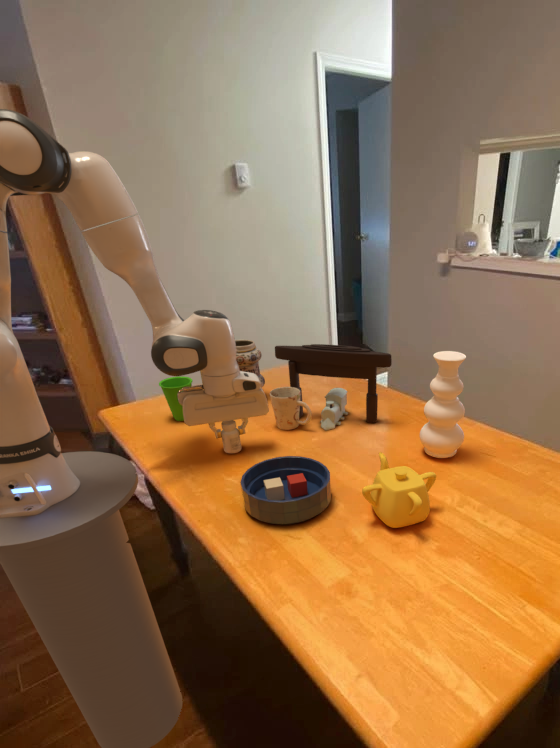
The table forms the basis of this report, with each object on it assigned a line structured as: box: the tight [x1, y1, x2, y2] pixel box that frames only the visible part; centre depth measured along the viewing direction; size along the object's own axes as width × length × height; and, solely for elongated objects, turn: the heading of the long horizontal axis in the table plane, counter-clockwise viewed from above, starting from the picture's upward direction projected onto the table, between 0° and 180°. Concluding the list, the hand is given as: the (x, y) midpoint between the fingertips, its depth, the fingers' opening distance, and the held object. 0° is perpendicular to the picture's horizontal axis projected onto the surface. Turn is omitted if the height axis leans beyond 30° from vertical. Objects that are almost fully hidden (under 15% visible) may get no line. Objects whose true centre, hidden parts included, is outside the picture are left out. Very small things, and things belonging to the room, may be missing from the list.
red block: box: [287, 473, 308, 498], centre depth 99 cm, size 4×4×4 cm
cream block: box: [264, 477, 285, 500], centre depth 97 cm, size 4×4×4 cm
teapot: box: [361, 451, 437, 529], centre depth 91 cm, size 14×13×10 cm
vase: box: [419, 350, 467, 459], centre depth 110 cm, size 11×11×25 cm
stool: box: [274, 343, 393, 432], centre depth 129 cm, size 16×21×33 cm
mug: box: [269, 386, 313, 431], centre depth 127 cm, size 8×13×10 cm, turn 64°
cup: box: [158, 375, 193, 422], centre depth 133 cm, size 9×9×11 cm
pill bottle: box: [220, 420, 243, 454], centre depth 116 cm, size 4×4×8 cm
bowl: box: [239, 455, 332, 525], centre depth 96 cm, size 18×18×6 cm
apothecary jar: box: [235, 339, 266, 389], centre depth 143 cm, size 12×12×18 cm
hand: (230, 435), depth 116 cm, fingers closed on pill bottle, 4 cm apart
